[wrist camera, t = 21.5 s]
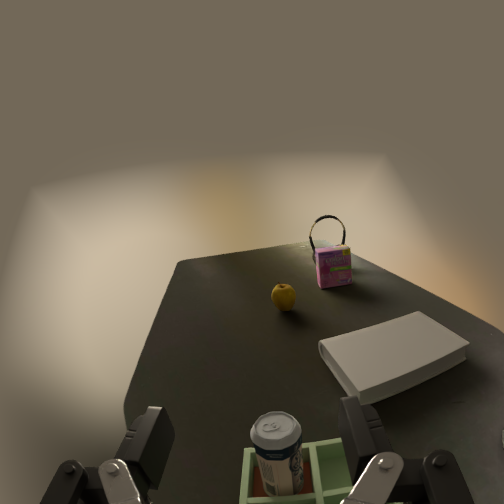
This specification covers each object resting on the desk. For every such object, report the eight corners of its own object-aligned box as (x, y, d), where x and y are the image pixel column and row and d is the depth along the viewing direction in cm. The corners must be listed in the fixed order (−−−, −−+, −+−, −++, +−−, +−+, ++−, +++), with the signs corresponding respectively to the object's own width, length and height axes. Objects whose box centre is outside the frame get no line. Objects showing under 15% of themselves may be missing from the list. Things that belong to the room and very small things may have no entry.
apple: (274, 306, 83) (271, 279, 81) (297, 304, 82) (294, 277, 80) (271, 316, 77) (268, 287, 75) (296, 314, 76) (293, 285, 74)
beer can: (308, 495, 25) (307, 436, 22) (267, 504, 24) (253, 448, 21) (298, 467, 29) (293, 403, 27) (260, 475, 29) (245, 413, 26)
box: (320, 289, 90) (317, 252, 88) (317, 283, 96) (314, 248, 93) (352, 284, 90) (350, 247, 87) (347, 278, 95) (345, 244, 92)
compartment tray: (240, 570, 15) (233, 562, 14) (249, 465, 31) (244, 448, 30) (403, 546, 14) (413, 535, 13) (372, 448, 30) (376, 429, 29)
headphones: (308, 270, 111) (302, 217, 106) (342, 262, 114) (338, 211, 109) (317, 276, 103) (312, 219, 98) (353, 267, 105) (349, 213, 101)
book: (469, 342, 40) (359, 391, 38) (466, 359, 41) (357, 409, 38) (415, 308, 58) (318, 337, 55) (414, 323, 59) (318, 353, 56)
